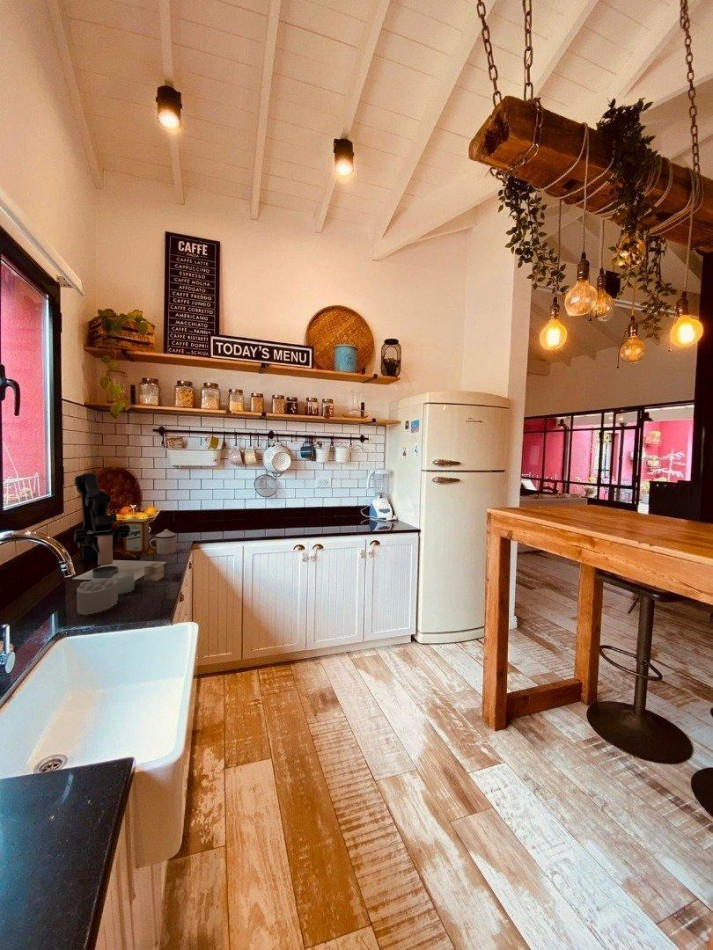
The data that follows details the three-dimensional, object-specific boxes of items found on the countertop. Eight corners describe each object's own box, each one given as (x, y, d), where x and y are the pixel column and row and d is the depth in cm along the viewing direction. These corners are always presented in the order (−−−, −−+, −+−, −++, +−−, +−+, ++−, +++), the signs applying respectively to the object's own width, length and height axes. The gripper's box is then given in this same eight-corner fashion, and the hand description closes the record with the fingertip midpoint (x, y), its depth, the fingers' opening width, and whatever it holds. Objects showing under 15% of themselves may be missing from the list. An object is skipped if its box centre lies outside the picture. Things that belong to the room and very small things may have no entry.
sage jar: (108, 593, 144) (107, 577, 144) (121, 586, 151) (120, 571, 150) (126, 594, 144) (126, 578, 143) (138, 587, 150) (138, 572, 150)
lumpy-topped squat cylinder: (121, 599, 140) (121, 574, 139) (105, 614, 127) (104, 588, 126) (88, 600, 138) (88, 575, 137) (68, 616, 125) (68, 589, 124)
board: (71, 582, 154) (71, 578, 154) (114, 563, 180) (114, 559, 180) (133, 585, 153) (133, 581, 153) (166, 565, 179) (166, 561, 179)
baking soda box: (148, 549, 205) (148, 518, 204) (144, 552, 198) (144, 520, 197) (128, 549, 203) (128, 518, 202) (123, 552, 197) (123, 520, 196)
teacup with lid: (176, 549, 206) (176, 527, 205) (176, 554, 198) (176, 530, 197) (150, 551, 201) (150, 528, 200) (148, 556, 193) (148, 532, 192)
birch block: (144, 584, 155) (144, 566, 154) (151, 580, 160) (151, 562, 159) (157, 584, 155) (157, 567, 154) (163, 580, 160) (163, 563, 159)
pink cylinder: (95, 564, 158) (94, 536, 157) (107, 561, 162) (107, 534, 161) (103, 566, 155) (103, 538, 155) (115, 562, 160) (115, 535, 159)
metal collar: (87, 578, 155) (87, 572, 155) (102, 571, 163) (102, 565, 163) (109, 579, 155) (109, 572, 154) (122, 572, 163) (122, 566, 163)
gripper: (74, 509, 154) (79, 543, 146) (128, 505, 166) (136, 536, 159) (71, 525, 160) (76, 559, 153) (124, 521, 173) (131, 551, 165)
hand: (106, 551), depth 157 cm, fingers closed on pink cylinder, 5 cm apart
